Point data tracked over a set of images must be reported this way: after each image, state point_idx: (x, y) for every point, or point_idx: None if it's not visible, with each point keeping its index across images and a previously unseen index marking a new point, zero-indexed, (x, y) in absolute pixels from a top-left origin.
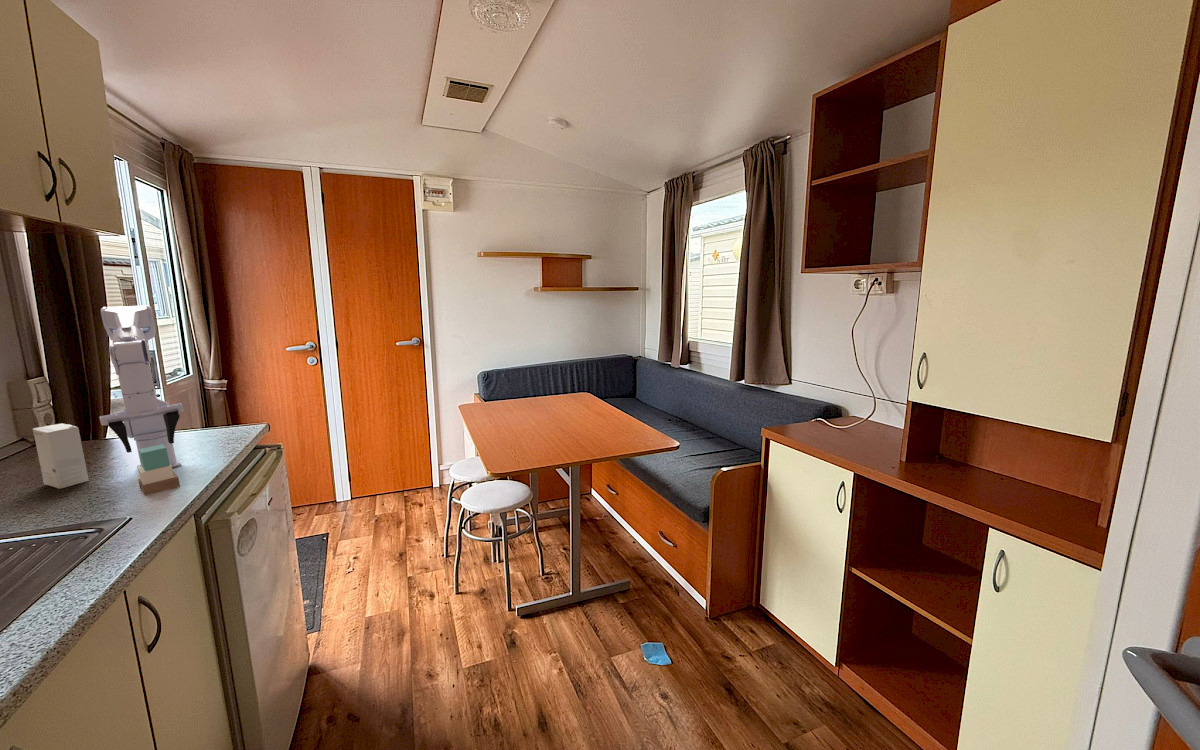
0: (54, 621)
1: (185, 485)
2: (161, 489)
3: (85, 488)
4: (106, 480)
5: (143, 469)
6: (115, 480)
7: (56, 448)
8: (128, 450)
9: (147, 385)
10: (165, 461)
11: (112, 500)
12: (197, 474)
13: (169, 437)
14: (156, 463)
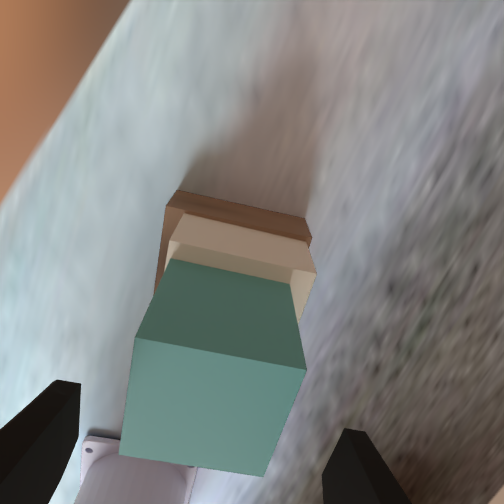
0: None
1: (159, 174)
2: (245, 207)
3: None
4: (278, 492)
5: None
6: (266, 472)
7: None
8: (369, 445)
9: None
10: (183, 277)
11: (381, 285)
12: (75, 280)
13: (45, 434)
14: (231, 288)
